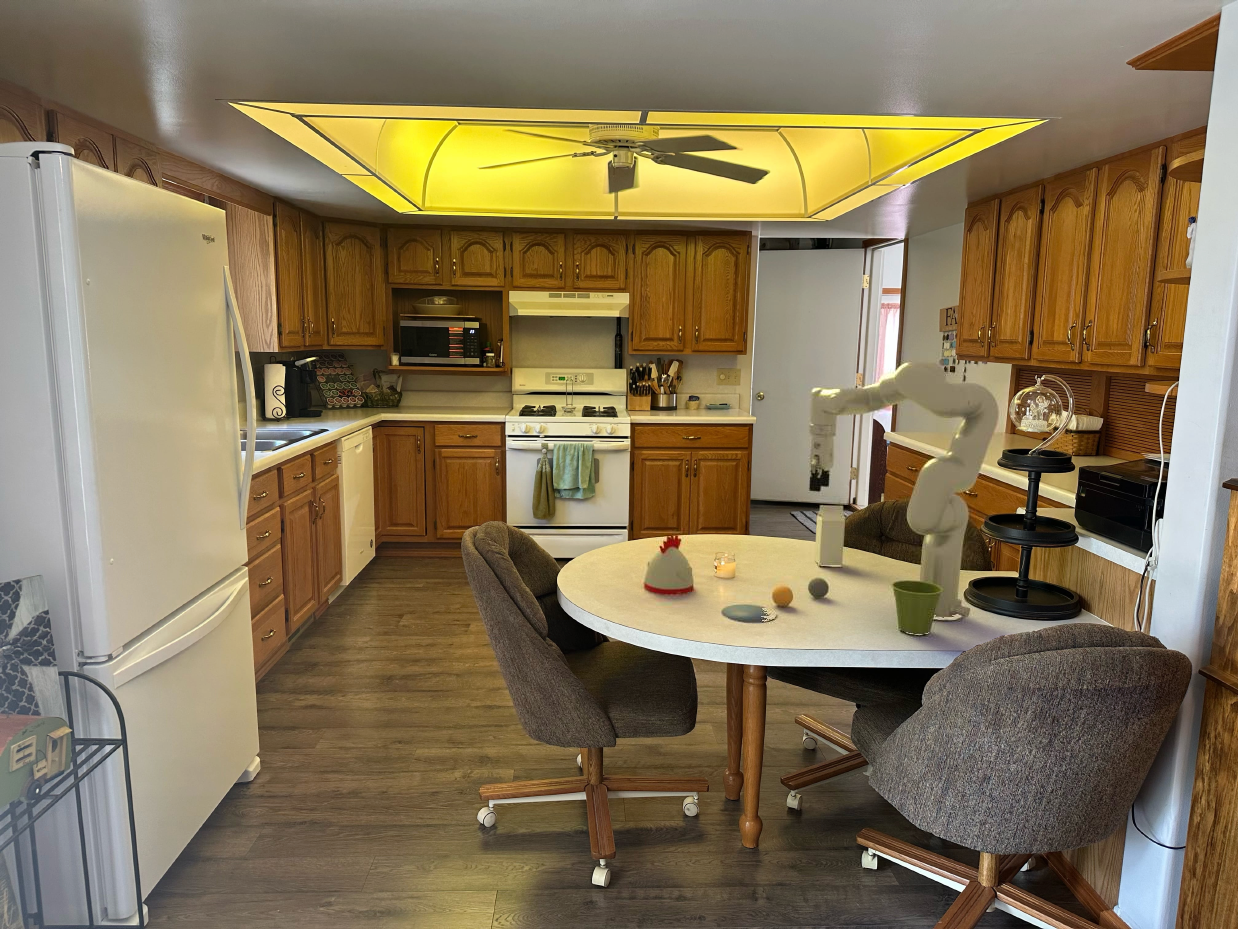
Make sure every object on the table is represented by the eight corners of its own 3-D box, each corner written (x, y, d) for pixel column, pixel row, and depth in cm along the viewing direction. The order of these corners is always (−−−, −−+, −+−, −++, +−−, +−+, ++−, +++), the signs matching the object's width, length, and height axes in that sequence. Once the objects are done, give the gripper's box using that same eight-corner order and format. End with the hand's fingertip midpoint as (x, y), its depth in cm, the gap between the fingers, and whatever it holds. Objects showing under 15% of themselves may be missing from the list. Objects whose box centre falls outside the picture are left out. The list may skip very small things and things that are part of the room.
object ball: (797, 607, 219) (798, 586, 218) (782, 610, 216) (783, 590, 215) (781, 601, 224) (782, 581, 223) (767, 604, 220) (768, 584, 220)
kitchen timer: (703, 588, 234) (705, 536, 232) (670, 598, 225) (672, 544, 223) (667, 578, 244) (668, 528, 242) (634, 586, 235) (635, 534, 232)
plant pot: (927, 623, 209) (931, 580, 207) (947, 640, 197) (951, 594, 195) (881, 623, 208) (884, 579, 206) (898, 639, 196) (901, 593, 195)
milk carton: (842, 568, 259) (845, 508, 257) (819, 567, 259) (822, 507, 257) (836, 562, 266) (840, 503, 264) (814, 561, 267) (817, 503, 264)
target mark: (788, 616, 211) (788, 615, 211) (748, 626, 203) (748, 625, 203) (749, 602, 223) (749, 601, 223) (710, 610, 214) (710, 610, 214)
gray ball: (832, 598, 227) (833, 579, 227) (818, 601, 224) (819, 582, 223) (816, 593, 232) (817, 574, 231) (803, 596, 229) (804, 577, 228)
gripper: (828, 433, 232) (824, 494, 234) (842, 428, 247) (838, 485, 249) (801, 432, 235) (798, 491, 237) (817, 427, 250) (814, 483, 253)
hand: (819, 488), depth 243 cm, fingers open, 9 cm apart
